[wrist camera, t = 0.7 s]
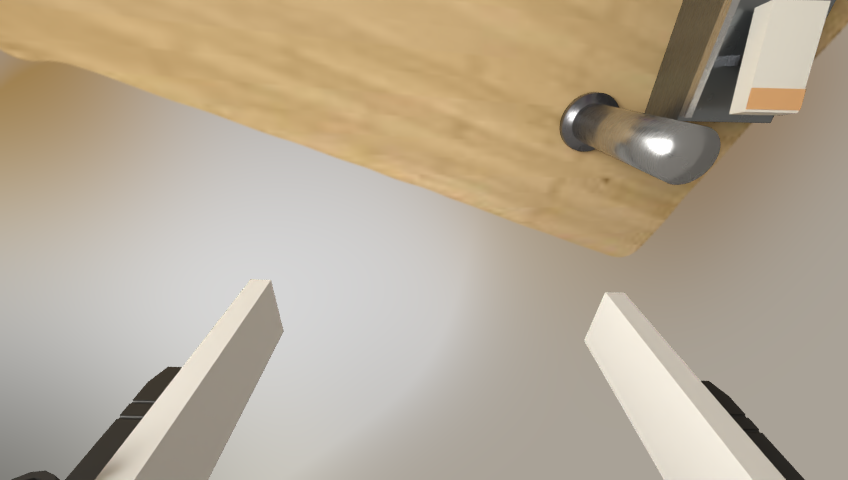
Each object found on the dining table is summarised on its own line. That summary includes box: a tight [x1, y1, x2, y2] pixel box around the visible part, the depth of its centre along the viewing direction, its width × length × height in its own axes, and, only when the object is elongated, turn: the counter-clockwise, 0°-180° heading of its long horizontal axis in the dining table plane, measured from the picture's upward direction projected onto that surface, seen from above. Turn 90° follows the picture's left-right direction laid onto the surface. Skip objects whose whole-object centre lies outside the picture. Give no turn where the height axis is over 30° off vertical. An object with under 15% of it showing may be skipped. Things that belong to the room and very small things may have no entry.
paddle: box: [729, 0, 831, 115], centre depth 25 cm, size 8×4×2 cm, turn 0°
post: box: [560, 92, 720, 185], centre depth 28 cm, size 6×6×15 cm
